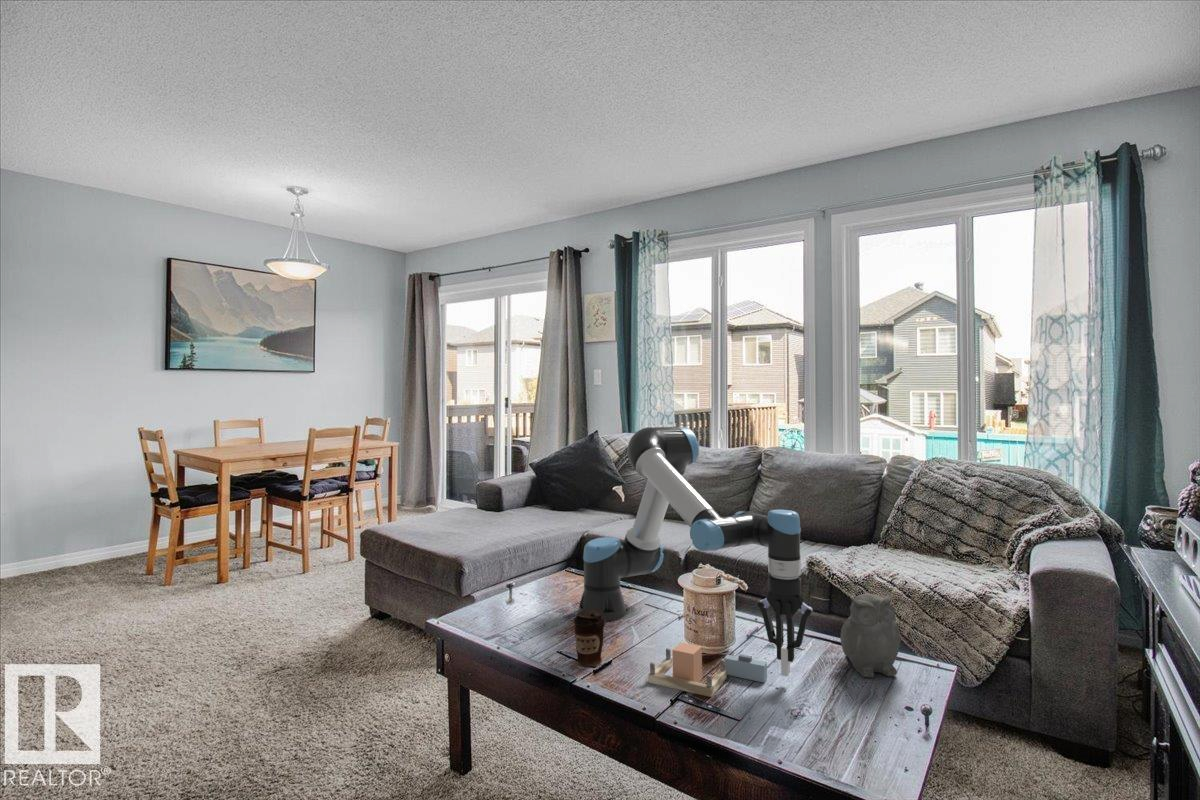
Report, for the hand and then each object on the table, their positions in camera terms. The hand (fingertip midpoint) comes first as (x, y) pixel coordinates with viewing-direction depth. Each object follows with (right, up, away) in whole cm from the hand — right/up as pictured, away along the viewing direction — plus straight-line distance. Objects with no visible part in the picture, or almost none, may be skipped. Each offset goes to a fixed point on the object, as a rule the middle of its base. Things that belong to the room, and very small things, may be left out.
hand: (785, 673), depth 146 cm
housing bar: (-9, -3, +5) cm, 10 cm away
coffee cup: (-47, -4, +14) cm, 50 cm away
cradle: (-23, -3, +3) cm, 24 cm away
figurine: (+24, -3, +10) cm, 26 cm away
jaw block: (-23, -3, +3) cm, 24 cm away
